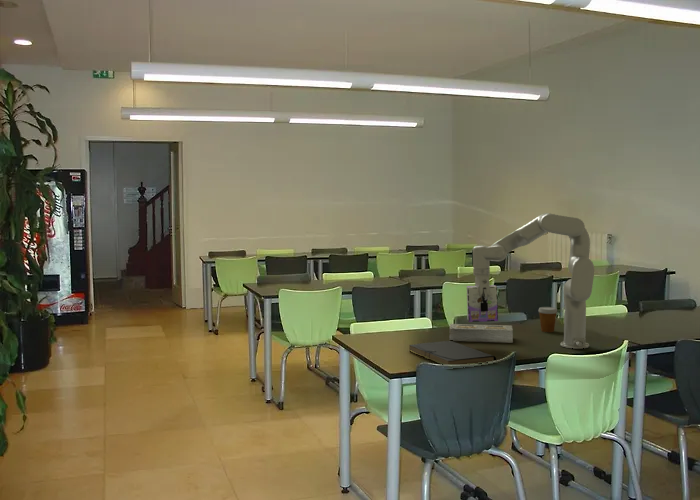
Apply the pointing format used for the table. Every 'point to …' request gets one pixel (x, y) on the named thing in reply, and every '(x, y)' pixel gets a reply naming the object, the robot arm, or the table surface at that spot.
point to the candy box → (475, 305)
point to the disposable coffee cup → (547, 318)
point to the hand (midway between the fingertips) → (482, 309)
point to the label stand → (481, 333)
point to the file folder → (451, 352)
